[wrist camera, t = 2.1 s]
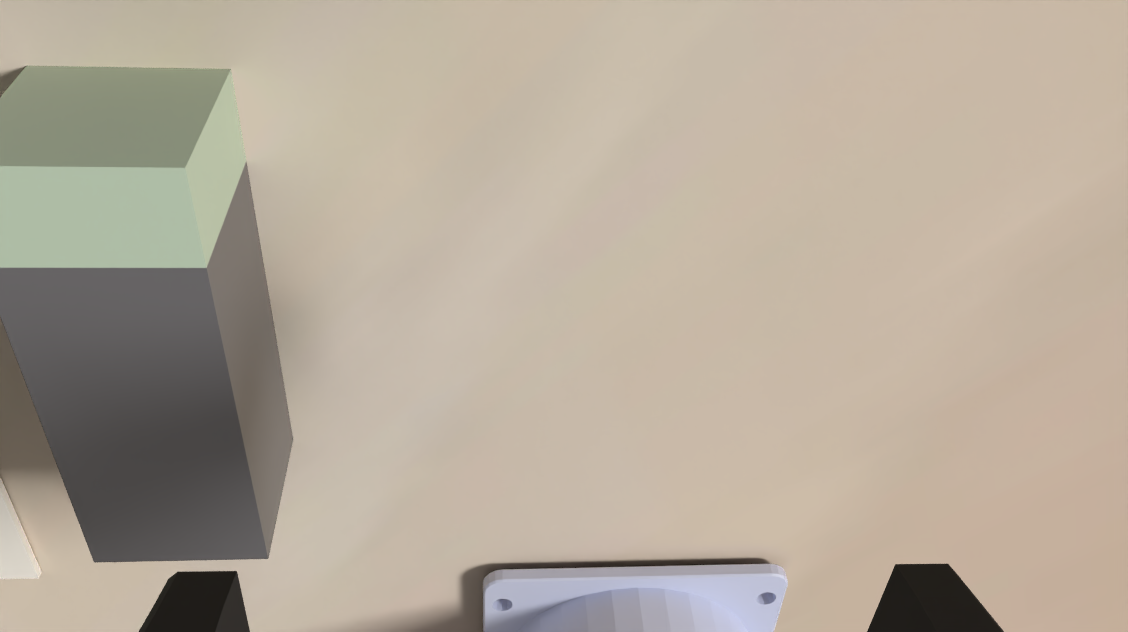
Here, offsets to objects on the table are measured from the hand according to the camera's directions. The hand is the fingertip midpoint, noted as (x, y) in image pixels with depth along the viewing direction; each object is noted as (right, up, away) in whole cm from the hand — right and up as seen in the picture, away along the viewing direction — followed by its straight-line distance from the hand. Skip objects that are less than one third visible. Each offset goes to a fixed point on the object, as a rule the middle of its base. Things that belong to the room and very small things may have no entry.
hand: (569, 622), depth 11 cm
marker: (-8, +4, +9) cm, 12 cm away
